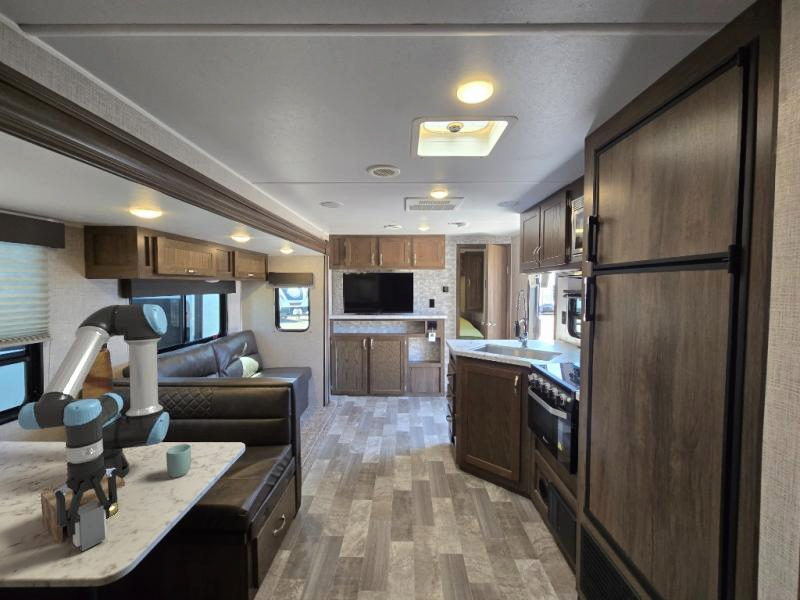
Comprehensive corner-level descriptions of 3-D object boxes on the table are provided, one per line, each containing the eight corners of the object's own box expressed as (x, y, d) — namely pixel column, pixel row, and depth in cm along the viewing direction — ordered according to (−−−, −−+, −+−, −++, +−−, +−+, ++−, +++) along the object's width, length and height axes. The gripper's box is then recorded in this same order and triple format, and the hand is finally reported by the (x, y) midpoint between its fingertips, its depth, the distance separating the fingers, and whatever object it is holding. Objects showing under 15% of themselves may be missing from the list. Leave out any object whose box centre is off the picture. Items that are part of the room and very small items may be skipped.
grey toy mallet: (62, 530, 102) (60, 497, 101) (85, 519, 106) (83, 488, 105) (82, 551, 94) (80, 515, 93) (105, 539, 98) (103, 505, 98)
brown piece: (42, 525, 105) (40, 493, 104) (108, 496, 119) (106, 468, 118) (58, 543, 98) (56, 509, 97) (126, 511, 111) (124, 481, 111)
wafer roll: (118, 446, 154) (113, 346, 151) (114, 457, 145) (108, 350, 142) (88, 452, 149) (82, 348, 146) (80, 463, 140) (74, 353, 137)
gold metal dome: (90, 517, 109) (89, 508, 108) (113, 506, 114) (113, 497, 114) (97, 524, 106) (97, 514, 105) (121, 513, 111) (121, 503, 110)
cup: (174, 469, 136) (173, 444, 135) (195, 468, 137) (194, 443, 136) (162, 480, 128) (161, 454, 128) (184, 479, 129) (183, 453, 128)
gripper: (44, 477, 86) (50, 565, 88) (130, 446, 101) (134, 522, 103) (35, 468, 90) (40, 553, 92) (119, 440, 105) (123, 513, 107)
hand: (90, 537), depth 97 cm, fingers closed on grey toy mallet, 5 cm apart
